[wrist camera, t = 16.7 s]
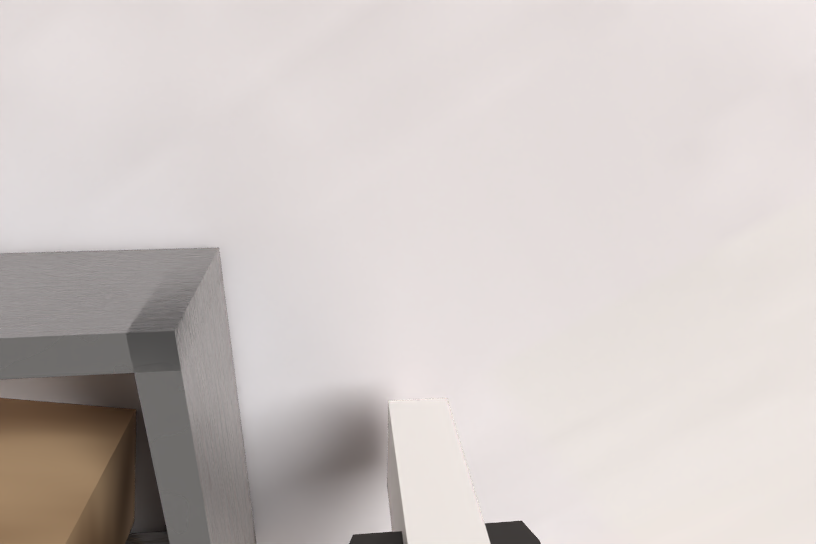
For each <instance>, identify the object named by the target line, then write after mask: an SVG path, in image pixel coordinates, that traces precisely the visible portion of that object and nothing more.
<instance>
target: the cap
mask: <svg viewBox="0 0 816 544" xmlns="http://www.w3.org/2000/svg"><path fill="white" fill-rule="evenodd" d="M120 373H134V375H135V380H136V385H137V390H138V395H139V399H140V404H141V409H142V414H143V418H144V423H145V428H146V433H147V437H148V442H149V447H150V452H151V457H152V461H153V466H154V471H155V476H156V480H157V485H158V490H159V495H160V499H161V504H162V509H163V514H164V519H165V523H166V528H167V531H161V532H149V533H136V534H129V535H128V538H127V540H126V543H125V544H256V537H255V529H254V521H253V514H252V506H251V498H250V490H249V482H248V474H247V466H246V458H245V450H244V442H243V434H242V426H241V419H240V411H239V403H238V395H237V387H236V379H235V371H234V363H233V355H232V347H231V339H230V331H229V324H228V316H227V308H226V300H225V292H224V284H223V276H222V268H221V260H220V252H219V248H193V249H155V250H118V251H80V252H42V253H4V254H0V379H19V378H39V377H59V376H79V375H100V374H120Z"/></svg>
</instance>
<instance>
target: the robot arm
mask: <svg viewBox="0 0 816 544" xmlns="http://www.w3.org/2000/svg"><path fill="white" fill-rule="evenodd" d="M387 489H388V498H389V507H390V516H391V526H392V532H383V533H370V534H356V535H353V536H352V539H351V541H350V543H349V544H541V543H540V541H539V540H538V538H537V537H536V536H535V535H534V534H533V533H532V532H531V531H530V529H529V528H528V527H527V526H526V525H525V524H524V523H523V522H522V521H513V522H499V523H484V520H483V516H482V513H481V510H480V506H479V503H478V499H477V496H476V493H475V489H474V486H473V483H472V479H471V476H470V473H469V469H468V466H467V462H466V459H465V456H464V452H463V449H462V446H461V442H460V439H459V435H458V432H457V429H456V425H455V422H454V419H453V415H452V412H451V409H450V405H449V402H448V398H432V399H411V400H389V401H388V455H387Z"/></svg>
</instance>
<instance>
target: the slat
mask: <svg viewBox="0 0 816 544" xmlns="http://www.w3.org/2000/svg"><path fill="white" fill-rule="evenodd" d="M135 451H136V409H126V408H114V407H102V406H90V405H78V404H66V403H54V402H42V401H30V400H18V399H6V398H0V544H125V543H126V540H127V538H128V535H129V533H130V530H131V528H132V526H133V523H134V514H135Z"/></svg>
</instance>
